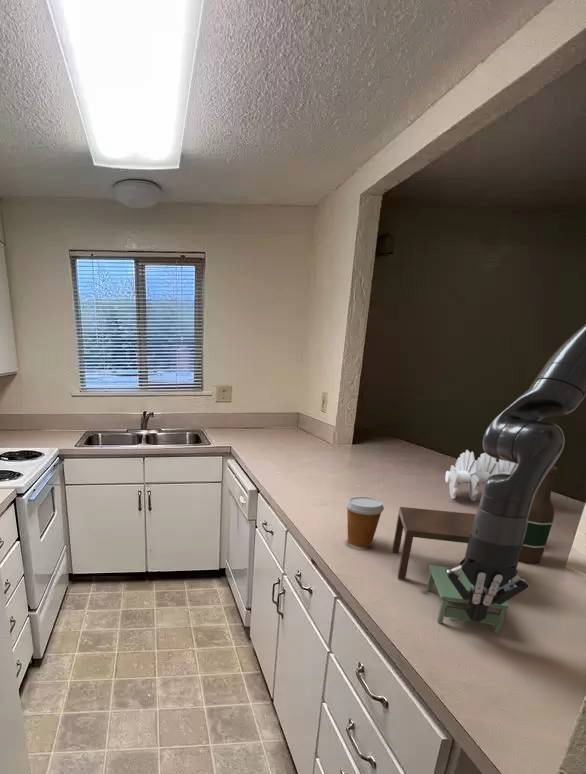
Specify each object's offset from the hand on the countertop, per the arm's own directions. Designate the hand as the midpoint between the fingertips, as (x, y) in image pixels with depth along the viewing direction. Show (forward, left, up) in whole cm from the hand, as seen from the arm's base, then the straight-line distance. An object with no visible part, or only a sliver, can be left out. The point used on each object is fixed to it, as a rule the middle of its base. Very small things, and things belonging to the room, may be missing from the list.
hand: (474, 618), depth 81 cm
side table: (0, -26, -3) cm, 26 cm away
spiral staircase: (-22, -86, -3) cm, 89 cm away
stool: (0, -8, -3) cm, 9 cm away
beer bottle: (-20, -40, -3) cm, 45 cm away
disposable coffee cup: (+19, -37, -3) cm, 41 cm away
